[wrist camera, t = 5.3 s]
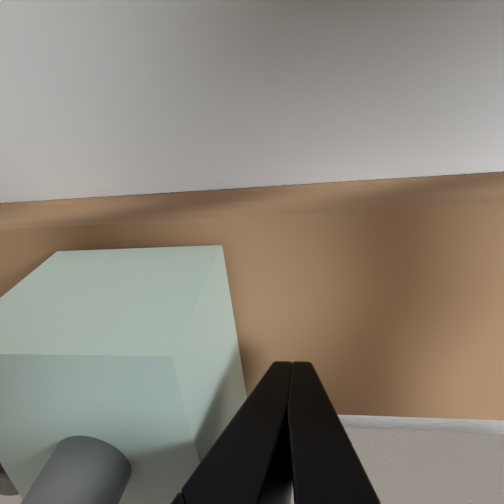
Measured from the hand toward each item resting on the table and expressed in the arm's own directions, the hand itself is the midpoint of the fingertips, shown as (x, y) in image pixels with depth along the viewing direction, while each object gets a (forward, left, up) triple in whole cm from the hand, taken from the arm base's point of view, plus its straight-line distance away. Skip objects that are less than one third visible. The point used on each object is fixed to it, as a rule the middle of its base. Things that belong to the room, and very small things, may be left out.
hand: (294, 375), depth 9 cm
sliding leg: (+4, +4, -2) cm, 6 cm away
